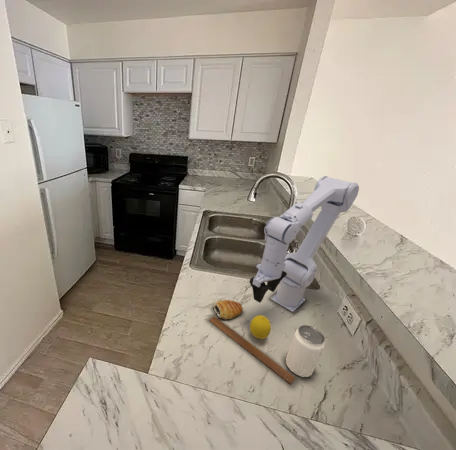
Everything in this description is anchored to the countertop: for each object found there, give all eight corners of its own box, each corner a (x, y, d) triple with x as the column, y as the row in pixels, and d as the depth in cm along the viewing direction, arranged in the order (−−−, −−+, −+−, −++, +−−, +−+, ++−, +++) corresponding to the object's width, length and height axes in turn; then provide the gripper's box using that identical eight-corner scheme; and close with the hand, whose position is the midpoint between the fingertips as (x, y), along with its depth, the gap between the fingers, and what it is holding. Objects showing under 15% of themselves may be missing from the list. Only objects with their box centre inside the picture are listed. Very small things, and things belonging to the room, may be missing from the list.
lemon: (269, 346, 73) (275, 326, 69) (249, 343, 74) (254, 322, 70) (265, 331, 78) (271, 311, 74) (246, 328, 79) (251, 308, 75)
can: (280, 356, 70) (291, 324, 65) (302, 354, 70) (315, 323, 65) (294, 379, 64) (307, 346, 59) (318, 377, 65) (333, 344, 59)
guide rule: (214, 317, 82) (214, 316, 82) (294, 379, 64) (295, 377, 64) (209, 320, 81) (209, 319, 81) (290, 384, 63) (291, 383, 63)
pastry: (235, 302, 89) (237, 294, 87) (246, 316, 83) (248, 308, 81) (211, 307, 86) (212, 298, 85) (220, 322, 81) (222, 313, 79)
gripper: (273, 244, 79) (264, 279, 85) (246, 260, 71) (239, 298, 77) (296, 254, 74) (285, 290, 80) (270, 272, 66) (260, 311, 72)
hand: (264, 295), depth 78 cm, fingers open, 7 cm apart
